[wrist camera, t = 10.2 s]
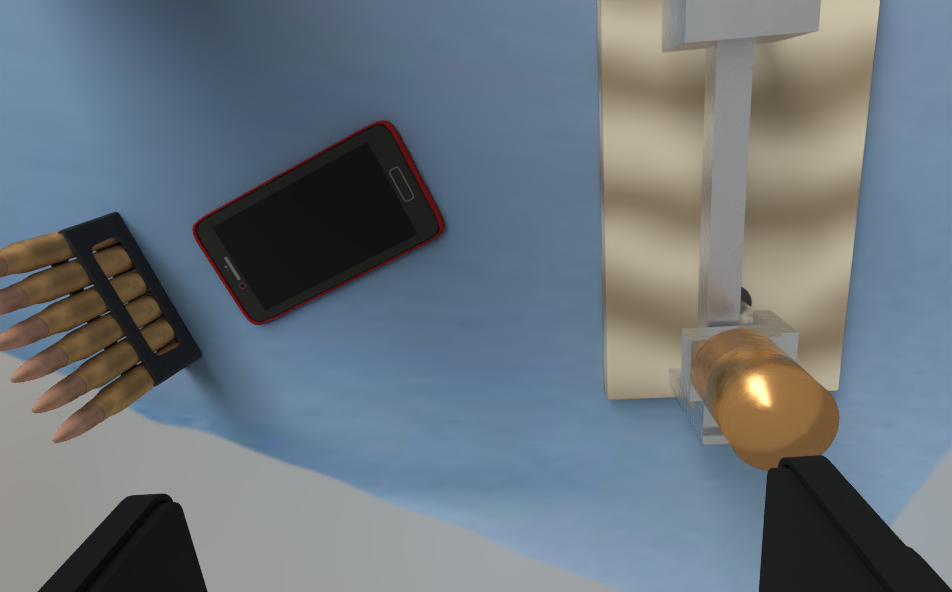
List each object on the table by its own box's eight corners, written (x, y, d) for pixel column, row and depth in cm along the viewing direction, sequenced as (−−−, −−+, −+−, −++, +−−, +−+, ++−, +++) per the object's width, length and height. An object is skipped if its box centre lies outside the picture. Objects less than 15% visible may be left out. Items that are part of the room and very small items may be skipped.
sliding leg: (650, 278, 35) (729, 378, 22) (745, 272, 34) (885, 371, 21) (649, 341, 36) (725, 473, 23) (741, 337, 36) (872, 469, 23)
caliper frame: (639, -22, 31) (687, -74, 22) (758, -34, 30) (854, -91, 22) (639, 384, 37) (676, 465, 29) (736, 380, 37) (803, 461, 28)
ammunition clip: (203, 355, 41) (80, 451, 29) (180, 364, 41) (50, 463, 29) (117, 211, 38) (-55, 254, 26) (94, 222, 38) (-86, 269, 27)
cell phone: (450, 229, 37) (449, 232, 36) (258, 325, 40) (252, 330, 39) (390, 114, 35) (386, 114, 34) (193, 223, 38) (185, 226, 37)
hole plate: (597, -13, 32) (601, -19, 31) (868, -40, 31) (886, -47, 30) (604, 389, 39) (607, 400, 38) (826, 379, 38) (838, 391, 37)
